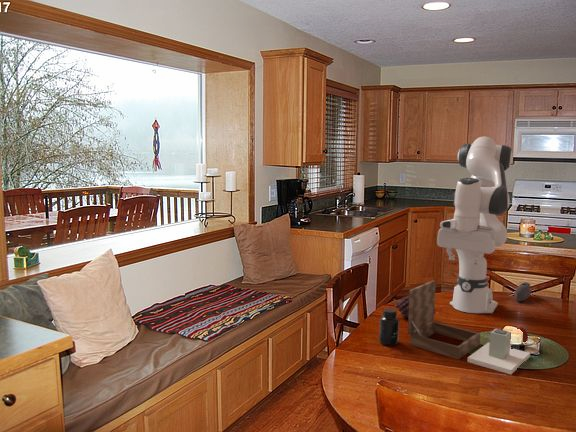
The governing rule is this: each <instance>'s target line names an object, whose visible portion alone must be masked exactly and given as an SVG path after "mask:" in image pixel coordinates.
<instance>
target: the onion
mask: <svg viewBox="0 0 576 432" xmlns="http://www.w3.org/2000/svg"><path fill="white" fill-rule="evenodd" d="M515 328H517V329H520V330H521V331H522V332H523V342H526V341H527V342H528V341H529V335H528V332H527V331H526V329H525V328H523V327H522V325H520V324H519V325H517V327H516V326H515ZM527 342H526V343H527Z"/></svg>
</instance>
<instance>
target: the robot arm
mask: <svg viewBox="0 0 576 432" xmlns="http://www.w3.org/2000/svg"><path fill="white" fill-rule="evenodd" d="M513 159H514V153H513V150H512V147H510V146H509V145H504V144H502V145H500V144H497V143H496V142H495V140H494V139H493V138H491V137H489V136H484V135H483V136H479V137H477V138H476V139H474V141H473V142H472V143H464V144H462V145H461V146H460V147H459V150H458V152H457V161H458V165H459V166H460V167H462V168H465V169H467V171H468V172H469V174H471V176H470V177H465V178H464V177H462V178H460V179H459V180H457V183H456V187H455V192H454V193H453V200H452V201H453V206H454V207H455V209H454V214H453V218H450V219H447V220H443V221H440V223H439V227H440V228H439V229H438V231H437V237H436V238H437V239H436V244H437V246H438V247H440V248H446V253H447V254H448V260H449V261H451V262H452V261H455V259H456V258H455V257H456V255H455V254H453V249H454V250H455V251H456V253H457V257H458V266H459V267H458V268H459V269H458V270H459V271H458V275H457V280H456V281H457V285H455V286H454V288H453V295H452V296H453V297H452V300H451V301H450V302H449V305H451V306H452V307H453V308H454V309H455V310H457V311H460V312H463V313H464V312H465V313H469V314H493V313H494V311H495V310H496V308H497V307H498V305H499V304H498V302H497V301H495V300H493V295H494V294H493V291H492V290H491V289H490V287H489V286H488V282H489V281H490V276H487V268H488V267H487V266H488V263H487V262H488V261H487V259H486V258H485V257H484V255H485V254H486V255H489V254H493V253H494V252H495V251H496V248H497V247H501V246H503V245H504V244H505V243H506V242H507V240H508V230H507V227H506V226H505V225H504V223H502V222H501V221H500V220H499V219H498V218H497V216H501V215H502V214H504V213H506V212H507V211H508V209H509V206H510V200H511V199H510V194H509V192H508V187H507V181H506V178H507V177H506V171H507V170H508V169H509V168H510V167H511V164H512V163H513V161H514V160H513Z"/></svg>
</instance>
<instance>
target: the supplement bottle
mask: <svg viewBox="0 0 576 432" xmlns="http://www.w3.org/2000/svg"><path fill="white" fill-rule="evenodd" d="M397 315H398V314H397V310H396V309H395V308H384V309H383V310H382V316H381V317H380V319H379V332H378V341H379V343H380V344H381V345H385V346H396V345H398V343H399V335H400V334H399V331H400V320H399V318H398V317H397Z"/></svg>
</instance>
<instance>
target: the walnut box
mask: <svg viewBox="0 0 576 432" xmlns="http://www.w3.org/2000/svg"><path fill="white" fill-rule="evenodd" d="M408 291H409V293H408V296H409V316H408V318H407V320H408V321H407V323H408V324H407V334H408V335H410V341H409V345H410V346H412V347H416V348H419V349H422V350H425V351H428V352H433V353H436V354H439V355H443V356H446V357H450V358H453V359H456V360H460V359H462V357H464V356H465V355H467V354H468V353H469V352H472V350H474V349H476V348H477V347H478V346H479V345H481V335H482V334H481V333H480V332H477V331H473V330H469V329H466V328H461V327H456V326H453V325H449V324H445V323H442V322H441V323H440V322H437V321H435V313H434V309H435V303H436V300H435V299H436V280H433V279H432V280H430V281H428V282H425V283H424V284H421V285H419V286H416V287H414V288H411V289H409V290H408ZM434 334H438V335H441V336H445V337H448V338H452V339H456V340H460V341H463V342H462V343H460V344H459V345H454V344H451V343H448V342H444V341H440V340H437V339H433V338H429V337H430V336H432V335H434Z"/></svg>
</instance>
